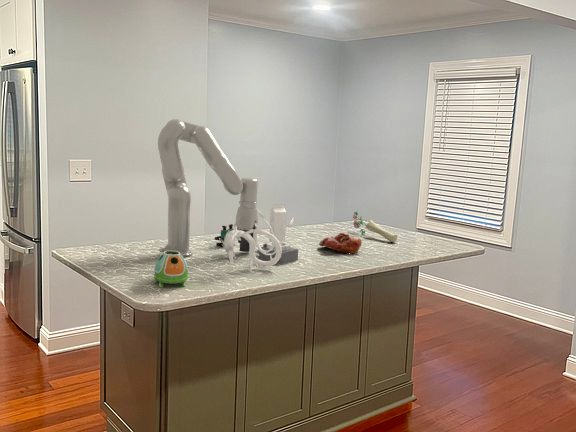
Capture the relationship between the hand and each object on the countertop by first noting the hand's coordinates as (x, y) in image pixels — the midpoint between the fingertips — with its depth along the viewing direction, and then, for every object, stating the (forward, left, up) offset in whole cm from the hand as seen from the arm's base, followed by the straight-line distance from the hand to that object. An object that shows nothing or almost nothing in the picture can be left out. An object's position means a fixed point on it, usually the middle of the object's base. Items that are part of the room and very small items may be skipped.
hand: (245, 243), depth 263 cm
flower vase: (+83, -20, -5) cm, 85 cm away
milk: (+18, -5, -5) cm, 19 cm away
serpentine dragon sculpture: (-14, -20, -5) cm, 25 cm away
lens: (0, 0, -4) cm, 4 cm away
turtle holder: (-56, -14, -5) cm, 58 cm away
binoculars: (+5, +18, -5) cm, 20 cm away
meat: (+41, -25, -5) cm, 48 cm away
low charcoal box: (+3, -18, -5) cm, 18 cm away
